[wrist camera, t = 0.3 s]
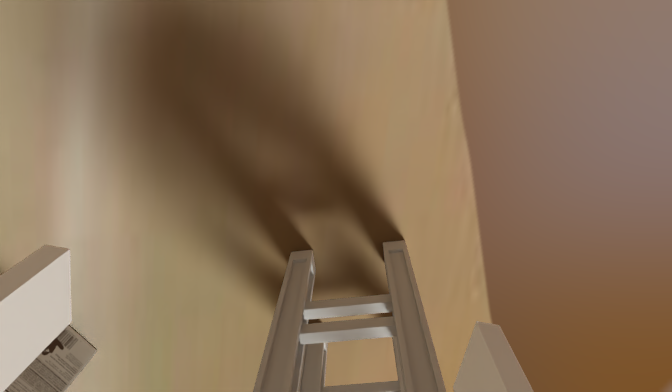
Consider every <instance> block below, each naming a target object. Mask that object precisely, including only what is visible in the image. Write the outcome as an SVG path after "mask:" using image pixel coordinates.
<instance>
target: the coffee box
mask: <svg viewBox="0 0 672 392" xmlns="http://www.w3.org/2000/svg"><path fill="white" fill-rule="evenodd" d="M96 352H97V351H96V349H95V348H94V347H93V346H92V345H90V344H89V343H88V342H87V341H86V340H85V339H84V338H82V337H81V336H80V335H79V334H78V333H77V332H76V331H74V330H73V329H72V328H71V327H70V326H69V325H68V326H67V327H66V328H65V329H64V330H63V331H62V332H61V333H60V334H59V335H58V336H57V337H56V338H55V339H54V340H53V341H52V342H51V343H50V344H49V345H48V346H47V347H46V348H45V349H44V350H43V351H42V352H41V353H40V354H39V355H38V357H37V358H36V359H35V360H34V361H33V362H32V363H31V364H30V365H29V366H28V367H27V368H26V369H25V370H24V371H23V372H22V373H21V374H20V375H19V376H18V377H17V378H16V379H15V380H14V381H13V382H12V383H11V384H10V385H9V386H8V387H7V388H6V389H5V390H4V391H3V392H65V391H66V390H67V388H68V387H69V386H70V385H71V383H72V382H73V381H74V380H75V378H76V377H77V376H78V375H79V373H80V372H81V371H82V370H83V368H84V367H85V366H86V365H87V363H88V362H89V361H90V360H91V358H92V357H93V356H94V354H95V353H96Z"/></svg>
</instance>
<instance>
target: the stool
mask: <svg viewBox="0 0 672 392" xmlns="http://www.w3.org/2000/svg"><path fill="white" fill-rule="evenodd" d="M383 251H384V262H385V269H386V275H387V281H388V288H389V294H383V295H373V296H362V297H351V298H340V299H330V300H319V301H311V300H312V293H313V286H314V279H315V272H316V268H315V261H314V255H313V250H304V251H294V252H291V254H290V258H289V261H288V265H287V269H286V272H285V276H284V280H283V283H282V287H281V291H280V294H279V298H278V302H277V305H276V309H275V313H274V316H273V320H272V324H271V327H270V331H269V335H268V338H267V342H266V346H265V350H264V353H263V357H262V361H261V364H260V368H259V372H258V375H257V379H256V383H255V386H254V390H253V392H446V389H445V386H444V382H443V378H442V375H441V371H440V367H439V364H438V360H437V356H436V353H435V349H434V345H433V342H432V338H431V334H430V331H429V327H428V323H427V320H426V316H425V312H424V309H423V305H422V301H421V298H420V294H419V290H418V287H417V283H416V279H415V276H414V272H413V268H412V265H411V261H410V257H409V254H408V250H407V246H406V243H405V240H402V241H392V242H383ZM386 312H392V314H393V316H390V317H379V318H367V319H356V320H345V321H334V322H323V323H312V324H308V321H309V319H320V318H331V317H342V316H353V315H364V314H375V313H386ZM383 337H392V339H393V346H394V354H395V361H396V368H397V375H398V381H389V382H376V383H364V384H351V385H339V386H326V387H325V374H326V360H327V346H328V342H337V341H348V340H360V339H371V338H383Z"/></svg>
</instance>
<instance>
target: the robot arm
mask: <svg viewBox="0 0 672 392" xmlns="http://www.w3.org/2000/svg"><path fill="white" fill-rule="evenodd" d="M71 322H72V319H71V274H70V249H68V248H62V247H56V246H51V245H44V246H43V247H41V248H40V249H38V250H37V251H35V252H34V253H32V254H31V255H29V256H28V257H26V258H25V259H24V260H22V261H21V262H19V263H18V264H16V265H15V266H13V267H12V268H10V269H9V270H8V271H6V272H5V273H3V274H2V275H0V392H3V391H4V390H5V389H6V388H7V387H8V386H9V385H10V384H11V383H12V382H13V381H14V380H15V379H16V378H17V377H18V376H19V375H20V374H21V373H22V372H23V371H24V370H25V369H26V368H27V367H28V366H29V365H30V364H31V363H32V362H33V361H34V360H35V359H36V358H37V357H38V355H39V354H40V353H41V352H42V351H43V350H44V349H45V348H46V347H47V346H48V345H49V344H50V343H51V342H52V341H53V340H54V339H55V338H56V337H57V336H58V335H59V334H60V333H61V332H62V331H63V330H64V329H65V328H66V327H67V326H68V325H69V324H70V323H71ZM453 389H454V392H533V390H532V388H531V386H530V384H529V382H528V380H527V378H526V376H525V374H524V372H523V371H522V368H521V367H520V365H519V363H518V361H517V359H516V357H515V355H514V353H513V351H512V349H511V347H510V345H509V343H508V342H507V339H506V338H505V336H504V334H503V332H502V330H501V328H500V326H499V325H494V324H489V323H483V322H477V321H476V324H475V327H474V330H473V332H472V335H471V338H470V341H469V344H468V347H467V349H466V352H465V355H464V358H463V361H462V364H461V366H460V369H459V372H458V375H457V378H456V381H455V383H454V386H453Z"/></svg>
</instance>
